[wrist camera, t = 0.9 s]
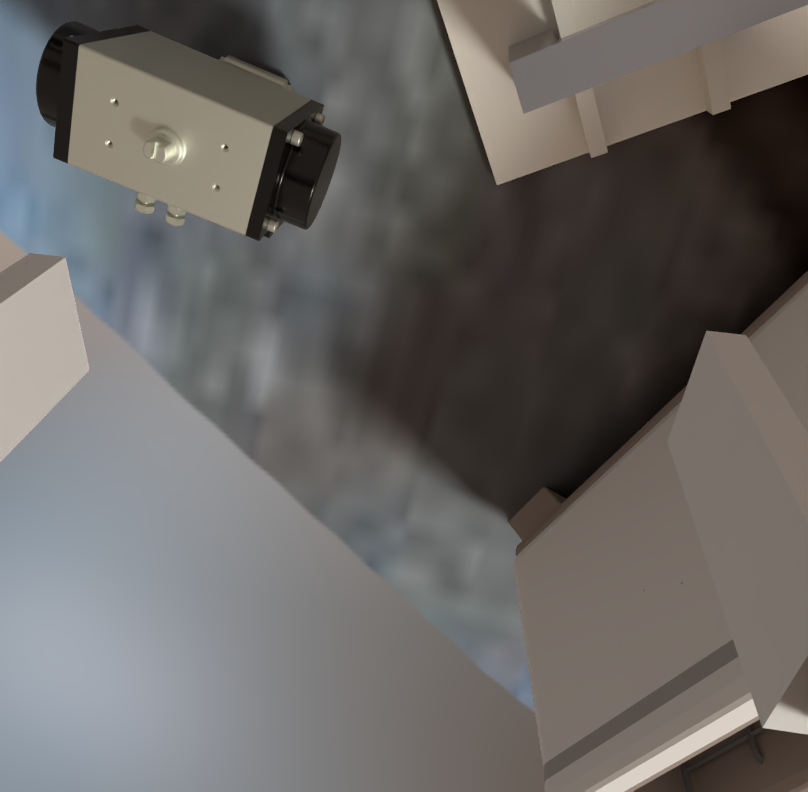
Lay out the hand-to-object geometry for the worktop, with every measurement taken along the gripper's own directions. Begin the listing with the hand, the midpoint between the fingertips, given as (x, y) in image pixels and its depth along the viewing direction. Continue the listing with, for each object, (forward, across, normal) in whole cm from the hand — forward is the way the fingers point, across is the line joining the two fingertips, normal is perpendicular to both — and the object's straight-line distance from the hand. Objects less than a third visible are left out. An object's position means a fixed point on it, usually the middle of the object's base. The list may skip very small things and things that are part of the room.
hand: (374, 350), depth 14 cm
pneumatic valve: (+25, -10, -1) cm, 27 cm away
